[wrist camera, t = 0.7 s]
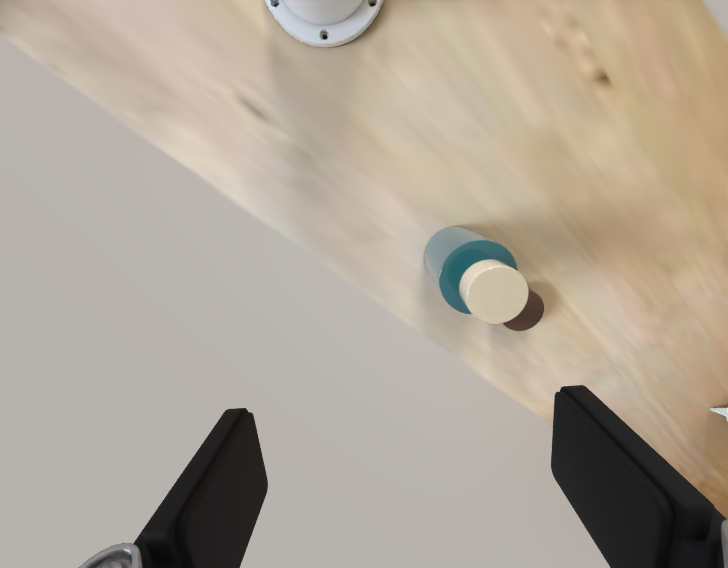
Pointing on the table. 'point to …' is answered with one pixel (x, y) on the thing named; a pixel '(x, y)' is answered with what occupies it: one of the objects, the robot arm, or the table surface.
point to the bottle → (476, 275)
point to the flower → (721, 411)
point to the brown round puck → (527, 314)
